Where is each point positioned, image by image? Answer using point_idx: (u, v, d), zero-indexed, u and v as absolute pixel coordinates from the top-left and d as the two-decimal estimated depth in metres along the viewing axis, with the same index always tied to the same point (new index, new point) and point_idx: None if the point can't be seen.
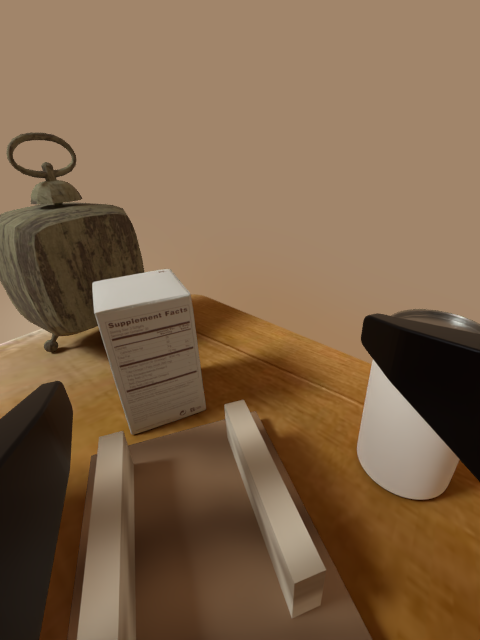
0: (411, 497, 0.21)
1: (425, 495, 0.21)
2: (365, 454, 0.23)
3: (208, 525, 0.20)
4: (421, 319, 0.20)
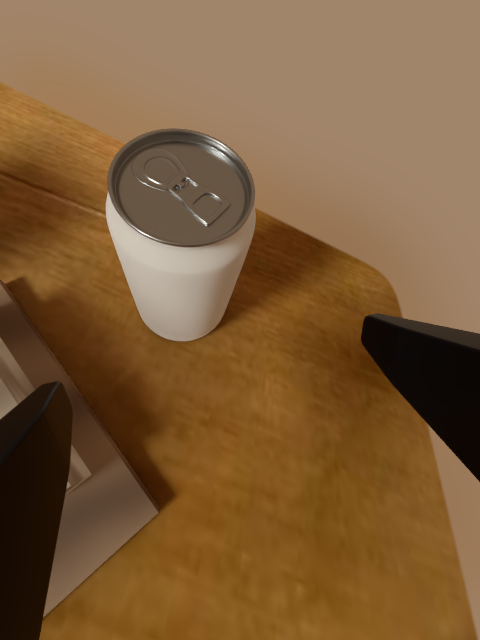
0: (187, 340, 0.22)
1: (198, 336, 0.21)
2: (139, 312, 0.20)
3: None
4: (170, 152, 0.13)
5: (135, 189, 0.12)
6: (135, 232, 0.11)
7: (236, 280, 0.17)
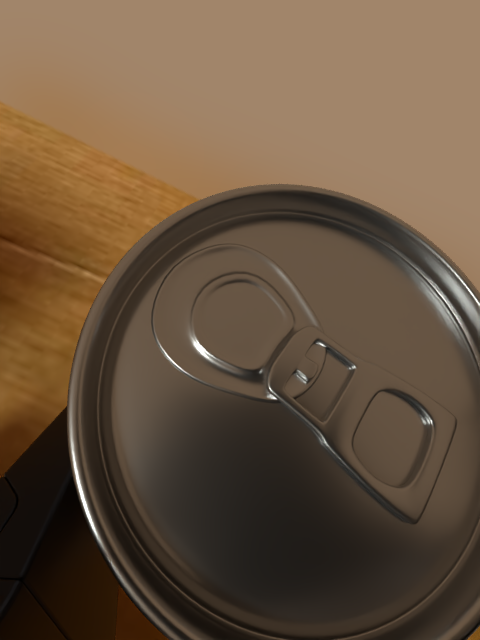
0: None
1: None
2: None
3: None
4: (262, 253, 0.04)
5: (165, 404, 0.03)
6: None
7: None
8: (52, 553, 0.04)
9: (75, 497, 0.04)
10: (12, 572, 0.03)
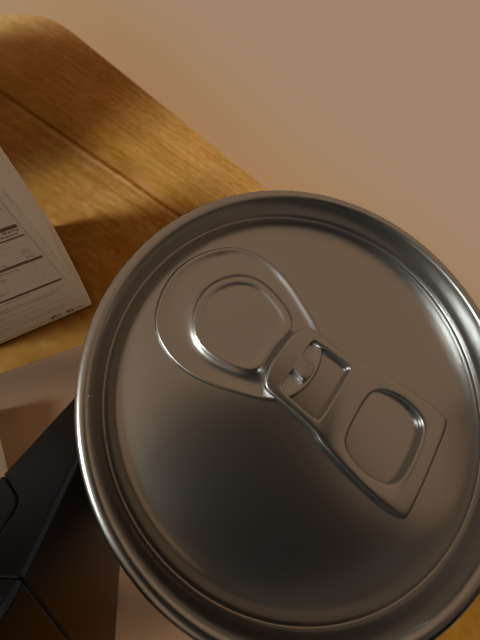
0: None
1: None
2: None
3: None
4: (261, 257, 0.04)
5: (167, 402, 0.04)
6: None
7: None
8: (52, 553, 0.04)
9: (75, 497, 0.04)
10: (12, 572, 0.03)
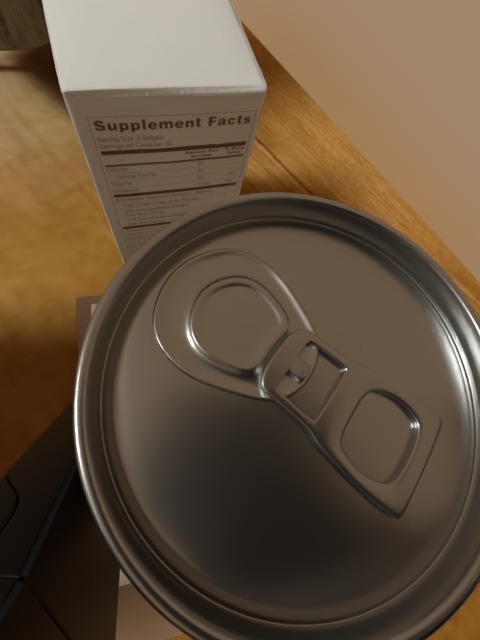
0: None
1: None
2: None
3: None
4: (259, 258, 0.05)
5: (164, 402, 0.04)
6: None
7: None
8: (53, 553, 0.04)
9: (76, 497, 0.04)
10: (13, 571, 0.03)
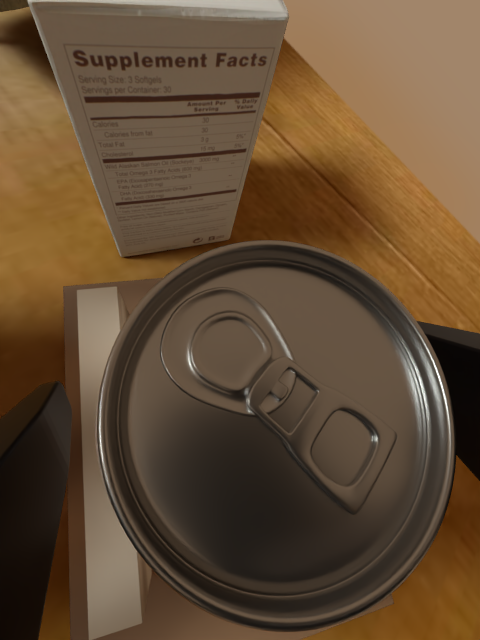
0: None
1: None
2: None
3: None
4: (249, 296, 0.05)
5: (168, 415, 0.05)
6: None
7: None
8: None
9: None
10: None
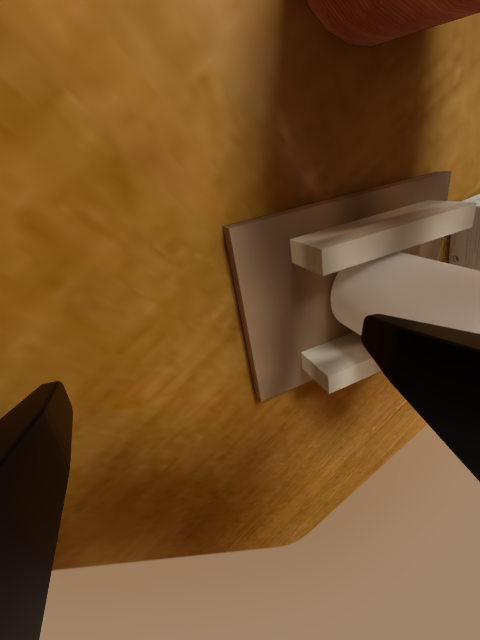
0: (331, 299, 0.23)
1: (335, 310, 0.23)
2: None
3: None
4: None
5: None
6: None
7: None
8: None
9: None
10: None
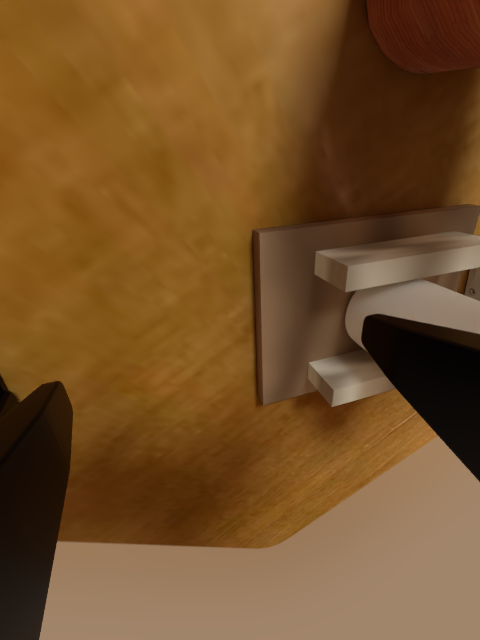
0: (347, 314, 0.23)
1: (348, 326, 0.23)
2: None
3: None
4: None
5: None
6: None
7: None
8: None
9: None
10: None
